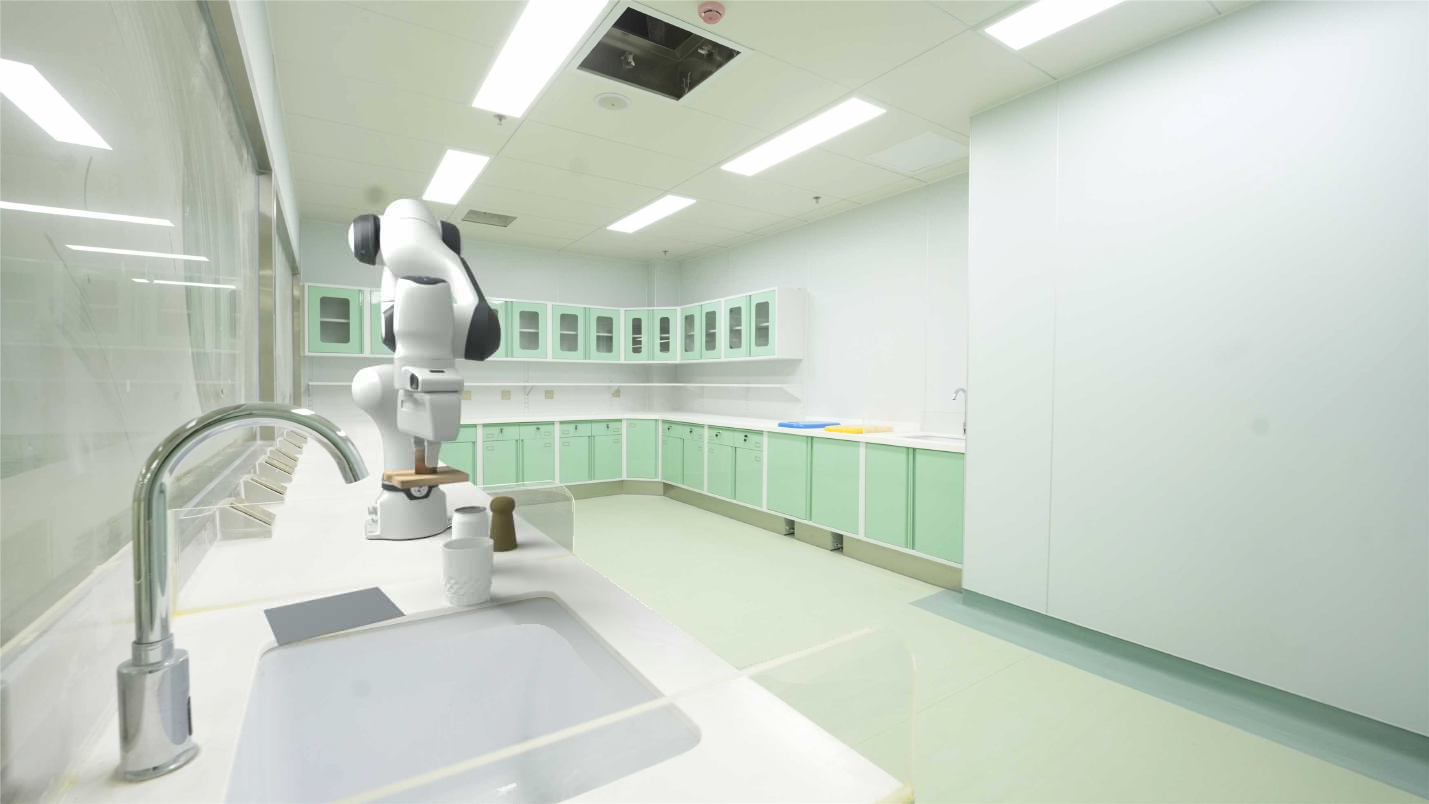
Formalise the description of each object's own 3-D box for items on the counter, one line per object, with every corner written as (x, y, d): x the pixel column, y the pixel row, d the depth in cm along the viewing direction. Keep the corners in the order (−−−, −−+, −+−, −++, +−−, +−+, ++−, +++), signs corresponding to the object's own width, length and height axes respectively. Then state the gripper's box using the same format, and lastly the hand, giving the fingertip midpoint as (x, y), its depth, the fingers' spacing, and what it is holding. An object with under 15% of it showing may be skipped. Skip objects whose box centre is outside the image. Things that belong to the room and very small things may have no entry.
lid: (383, 479, 99) (383, 449, 99) (447, 472, 106) (447, 445, 105) (400, 488, 91) (400, 456, 91) (469, 481, 98) (468, 451, 98)
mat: (263, 614, 96) (263, 609, 96) (377, 590, 106) (377, 586, 106) (279, 651, 84) (278, 645, 84) (405, 620, 95) (405, 614, 95)
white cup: (502, 603, 102) (501, 543, 101) (453, 616, 96) (452, 553, 96) (482, 590, 108) (482, 533, 107) (435, 601, 102) (435, 542, 102)
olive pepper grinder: (493, 553, 128) (493, 501, 128) (483, 546, 133) (483, 496, 132) (521, 548, 132) (521, 497, 132) (511, 542, 137) (511, 493, 136)
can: (476, 578, 113) (475, 514, 113) (444, 575, 115) (444, 512, 114) (495, 567, 120) (495, 506, 119) (465, 564, 121) (465, 504, 120)
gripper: (386, 376, 103) (387, 458, 104) (423, 379, 88) (424, 475, 89) (426, 377, 108) (426, 455, 108) (468, 379, 92) (469, 471, 93)
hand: (426, 464), depth 98 cm, fingers closed on lid, 3 cm apart
